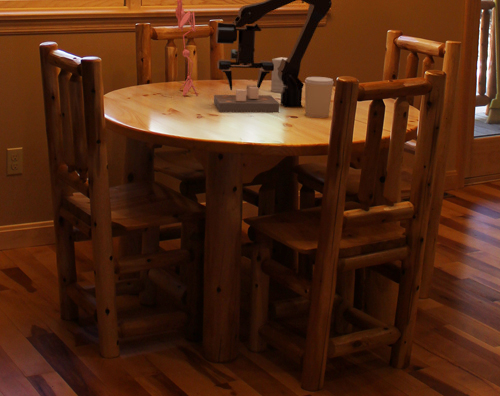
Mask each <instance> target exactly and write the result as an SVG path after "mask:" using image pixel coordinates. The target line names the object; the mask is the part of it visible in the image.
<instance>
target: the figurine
mask: <svg viewBox="0 0 500 396" xmlns="http://www.w3.org/2000/svg"><path fill="white" fill-rule="evenodd" d="M176 1H177V2H176V3H177V4H176V5H177V6H176V8H175V12H174V13H175V16H176V19H177V27H178V30H180V31H181V32H183V31H184V26H186V24H187V23H188V24H189V26H190V27H191V29H190V30H188V31H187V32H185V33H184V34H183V35H182V40H183V50H182V56H183V57H184V58H187V77H186V80H185V81H184V82H183V83H182V85H181V87H179V90H182V89H183V90H182V91H183V92H182V94H183V96H184V97H185V96H186V95H187V94H188V93H189V91H190V90H191V89H192V90H193V92H194V94H195V96H199V95H198V92H197V88H198V87H197V86H196V87H195V85H194V83H193V81H194V80H193V79H191V78H192V73H193V66H194V62H193V61H192V60H191V58H190V57H189V56H190V53H191V52H190V50H188V49H186V41H185V39H186V38H185V36H186V35H188V33H190V32H191V31H193V32H194V33H196V21H195V12H194V11H193V12H191V10H188V11H187V12H185V10H184V7H183V0H176ZM190 63H191V67H190ZM161 97H167V98H168V96H165V95H163V94H162V95H161ZM169 98H173V97H172V96H169Z"/></svg>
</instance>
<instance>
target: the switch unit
mask: <svg viewBox="0 0 500 396" xmlns="http://www.w3.org/2000/svg"><path fill="white" fill-rule="evenodd" d="M213 105H214V106H215V108H216V110H217V111H218V113H273V112H278V113H280V102H278V100H276V99H275V98H274V97H273V96H272V95H271V94H269V95H268V94H267V95H265V94H262V95H261V94H259V95H258V99H249V97H248V96H247V95H246V101H236V94H213Z"/></svg>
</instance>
